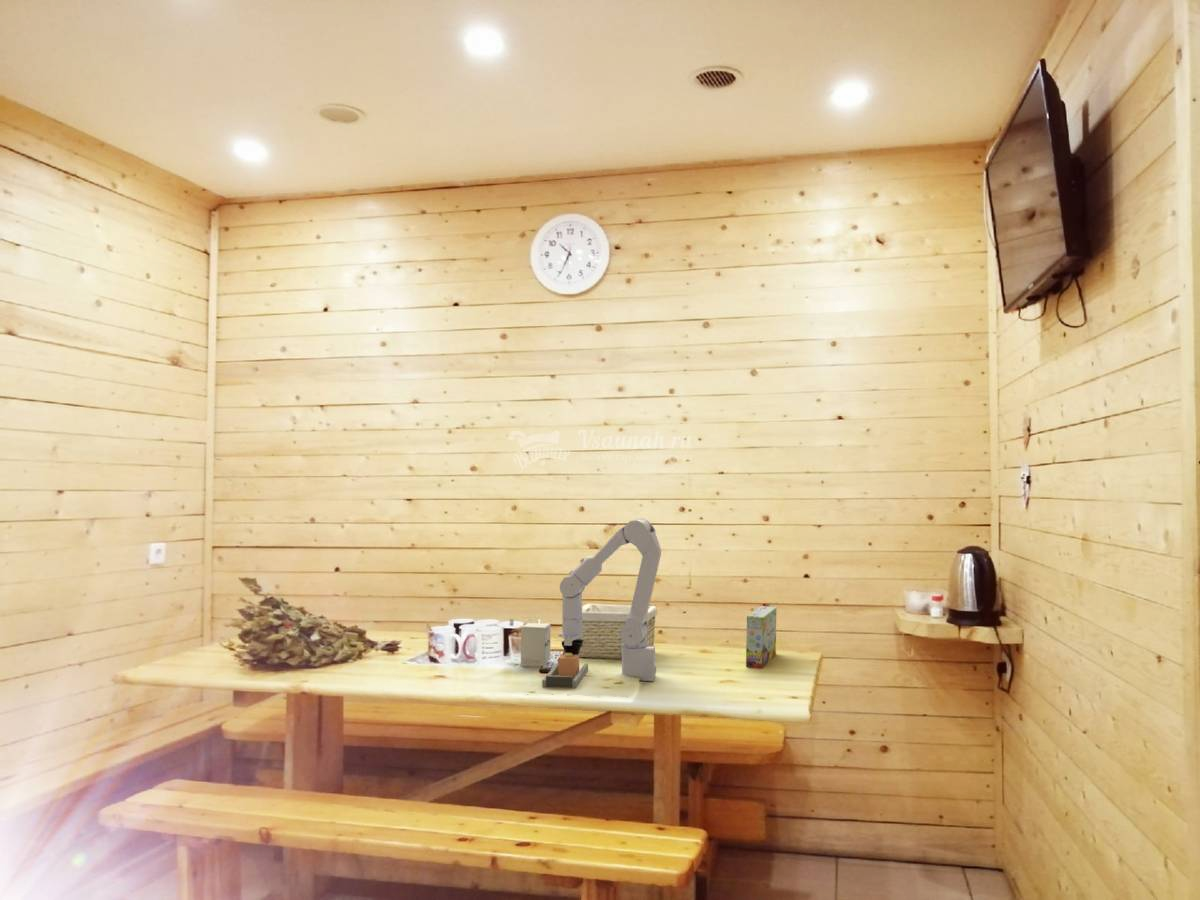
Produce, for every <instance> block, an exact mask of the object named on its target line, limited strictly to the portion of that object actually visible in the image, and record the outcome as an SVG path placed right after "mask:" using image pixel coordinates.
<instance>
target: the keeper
mask: <svg viewBox="0 0 1200 900" xmlns="http://www.w3.org/2000/svg"><path fill="white" fill-rule="evenodd" d="M557 663H558V673H557V675H559V676H573V678H575V677H576V675H577V674H578V672H579V671H580V657H579V655H572V653H563V654H562V653H561V654H560V655H559V656H558V658H557Z"/></svg>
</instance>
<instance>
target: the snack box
mask: <svg viewBox="0 0 1200 900" xmlns="http://www.w3.org/2000/svg"><path fill="white" fill-rule="evenodd" d="M745 647H746V648H745V649H746V651H745V653H746V654H745V658H746V659H745V667H747V668H755V669H763V668H764V667H765V666H767V664H768V663H769V662H770V661H771V660H772V659H773V658H774V657H775V656H776V655H777V607H776V606H768V605H767V606H765V605H764V606H763V605H762V606H761V605H760V606H759V607H758V608H756V609H755V610H753V612H751V613H749V614H748V615H746V646H745Z"/></svg>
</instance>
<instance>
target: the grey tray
mask: <svg viewBox="0 0 1200 900" xmlns="http://www.w3.org/2000/svg"><path fill="white" fill-rule="evenodd" d="M588 671H589V664H588V663H584V664H583V666H582V667H581V669H579V672H578V674H577V675H576V677H573V676H559V675H558V662H557V663H556V664H555V665H553V667H552V668H551V670H550V671H549V672H548V673H547V674H546V675H545V676H544V678H543V679H542V680H541V681H542V682H541V684H542V685H541V686H542V688H559V689H560V688H564V689H567V688H568V689H577V688H578V687H579V684H580V683H581V681H582V680H583V679H584V677H585V676H586V674H587V673H588Z"/></svg>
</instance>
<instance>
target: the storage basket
mask: <svg viewBox="0 0 1200 900" xmlns="http://www.w3.org/2000/svg"><path fill="white" fill-rule="evenodd" d="M631 606H632V604H630V605H629V604H628V605H627V604H626V605H625V604H605V603H603V604H602V603H589V602H588V603H586V604H584V605H582V633H583V637H581V638H579V639H581V640H583V643H582V645H581V648H580V651H579V658H583V657H590V658H591V659H592V658H593V659H600V658H603V659H602V660H604V659H605V658H606V659H608V660H609V659H612V660H622V643H623V642H622V641H621V638H620V632H621V629H622V628H623V627H624V626H625V624H626V621H627V617H628V615H629V613H630V610H631ZM657 614H658V611H657V606H655V605H649V609H648V622H647V624H648V629H649V632H648V635H647V637H646V638H645V640H646V642H647V643H648V646H654V647H655V645H654V643H655V628H656V627H655V626H656V625H655V623H656V616H657Z"/></svg>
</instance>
